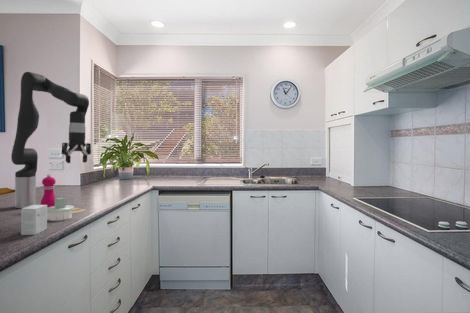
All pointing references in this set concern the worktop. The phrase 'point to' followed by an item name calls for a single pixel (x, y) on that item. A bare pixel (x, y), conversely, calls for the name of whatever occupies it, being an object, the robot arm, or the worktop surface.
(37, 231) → the small box
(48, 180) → the pepper mill
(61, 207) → the lid
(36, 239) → the worktop surface
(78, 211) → the plate
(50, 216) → the bowl
